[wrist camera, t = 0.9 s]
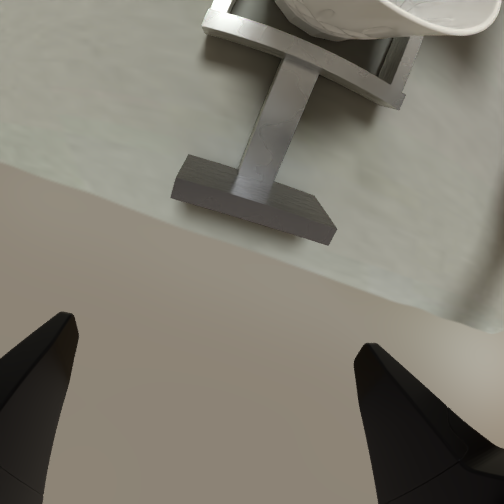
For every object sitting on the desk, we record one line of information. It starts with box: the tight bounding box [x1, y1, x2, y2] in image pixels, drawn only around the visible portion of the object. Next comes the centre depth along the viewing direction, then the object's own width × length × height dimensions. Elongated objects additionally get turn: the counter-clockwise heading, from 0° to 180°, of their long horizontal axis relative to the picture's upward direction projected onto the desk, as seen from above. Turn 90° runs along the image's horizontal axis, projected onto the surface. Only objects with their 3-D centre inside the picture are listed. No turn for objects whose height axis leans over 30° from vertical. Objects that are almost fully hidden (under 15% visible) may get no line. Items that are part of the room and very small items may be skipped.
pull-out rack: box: [171, 0, 424, 245], centre depth 12 cm, size 11×17×4 cm, turn 160°
